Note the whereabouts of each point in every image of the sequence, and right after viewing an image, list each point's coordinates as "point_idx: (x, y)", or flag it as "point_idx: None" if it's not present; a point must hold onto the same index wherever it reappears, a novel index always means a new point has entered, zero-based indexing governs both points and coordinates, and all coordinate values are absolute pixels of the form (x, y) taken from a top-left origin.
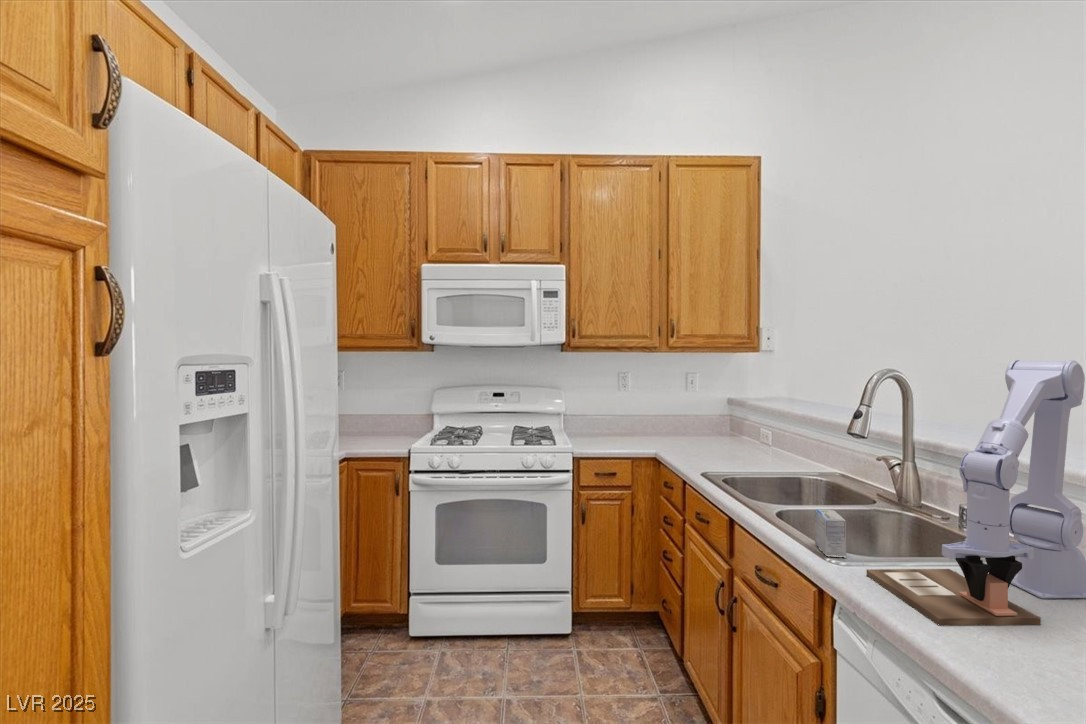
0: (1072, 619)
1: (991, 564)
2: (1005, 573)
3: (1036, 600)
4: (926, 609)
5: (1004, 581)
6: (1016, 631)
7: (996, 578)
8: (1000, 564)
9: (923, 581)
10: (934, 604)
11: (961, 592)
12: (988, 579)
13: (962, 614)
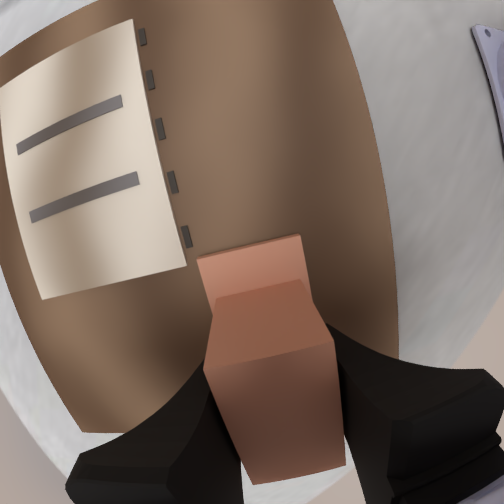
0: (491, 298)
1: (368, 437)
2: (363, 484)
3: (492, 173)
4: (57, 390)
5: (350, 446)
6: None
7: (331, 434)
8: (377, 499)
9: (99, 130)
10: (80, 357)
11: (206, 266)
12: (275, 453)
13: (148, 413)
